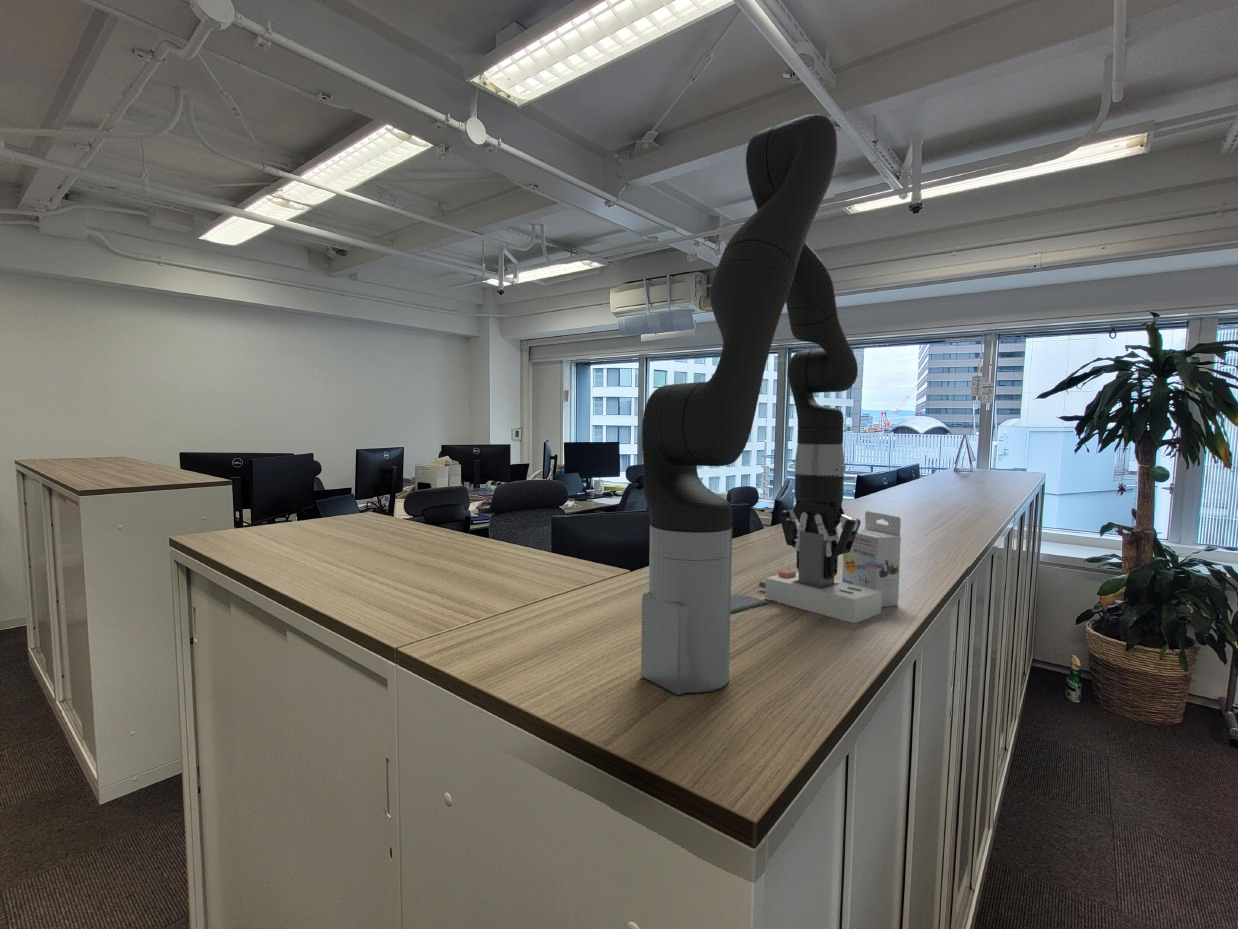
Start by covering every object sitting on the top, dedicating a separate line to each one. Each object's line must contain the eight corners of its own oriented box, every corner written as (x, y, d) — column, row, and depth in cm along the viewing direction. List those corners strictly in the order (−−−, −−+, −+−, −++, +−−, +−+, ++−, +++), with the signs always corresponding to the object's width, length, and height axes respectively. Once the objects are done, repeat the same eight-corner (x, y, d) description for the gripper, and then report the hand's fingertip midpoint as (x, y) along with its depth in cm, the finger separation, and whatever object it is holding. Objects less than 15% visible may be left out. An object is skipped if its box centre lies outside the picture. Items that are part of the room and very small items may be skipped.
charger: (820, 590, 89) (821, 533, 89) (798, 585, 93) (799, 530, 92) (833, 586, 92) (835, 531, 91) (812, 581, 95) (813, 528, 95)
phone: (718, 621, 85) (718, 614, 85) (690, 611, 90) (690, 605, 90) (767, 607, 92) (768, 601, 92) (739, 599, 97) (739, 593, 97)
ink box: (839, 594, 99) (842, 511, 98) (863, 592, 100) (865, 510, 100) (875, 608, 91) (878, 518, 90) (899, 606, 92) (903, 517, 91)
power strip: (854, 623, 83) (855, 594, 83) (746, 593, 98) (746, 568, 98) (880, 613, 88) (881, 585, 88) (773, 586, 103) (774, 562, 103)
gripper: (768, 470, 94) (766, 570, 95) (847, 475, 83) (844, 588, 84) (794, 469, 99) (792, 564, 100) (873, 473, 88) (869, 581, 89)
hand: (816, 575), depth 92 cm, fingers closed on charger, 4 cm apart
